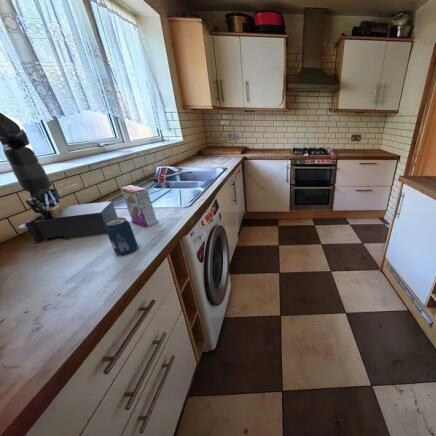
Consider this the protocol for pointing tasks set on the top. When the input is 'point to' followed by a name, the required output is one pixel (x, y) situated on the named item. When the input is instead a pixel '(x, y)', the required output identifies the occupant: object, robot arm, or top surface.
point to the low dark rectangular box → (85, 219)
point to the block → (53, 211)
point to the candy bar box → (139, 205)
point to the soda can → (121, 236)
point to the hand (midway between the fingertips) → (53, 217)
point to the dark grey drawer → (41, 228)
